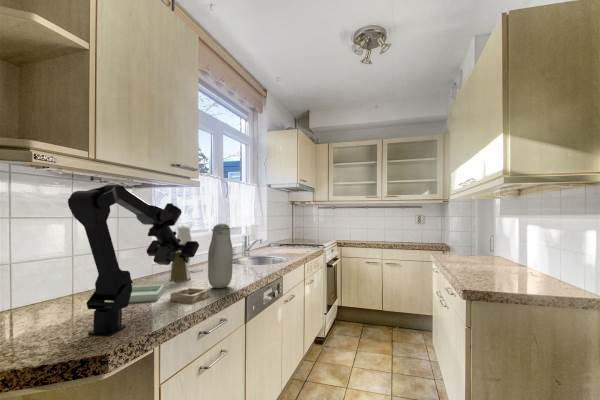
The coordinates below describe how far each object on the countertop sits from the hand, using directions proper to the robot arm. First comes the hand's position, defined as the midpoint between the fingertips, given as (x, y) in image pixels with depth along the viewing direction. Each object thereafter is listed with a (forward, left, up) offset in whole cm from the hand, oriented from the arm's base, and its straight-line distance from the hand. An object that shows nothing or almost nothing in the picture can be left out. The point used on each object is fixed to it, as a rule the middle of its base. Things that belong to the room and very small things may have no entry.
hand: (181, 261), depth 116 cm
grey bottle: (+15, -10, -13) cm, 22 cm away
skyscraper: (+27, +14, -13) cm, 33 cm away
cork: (-1, 0, -7) cm, 7 cm away
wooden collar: (-2, -5, -13) cm, 14 cm away
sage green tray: (-3, +15, -13) cm, 20 cm away
